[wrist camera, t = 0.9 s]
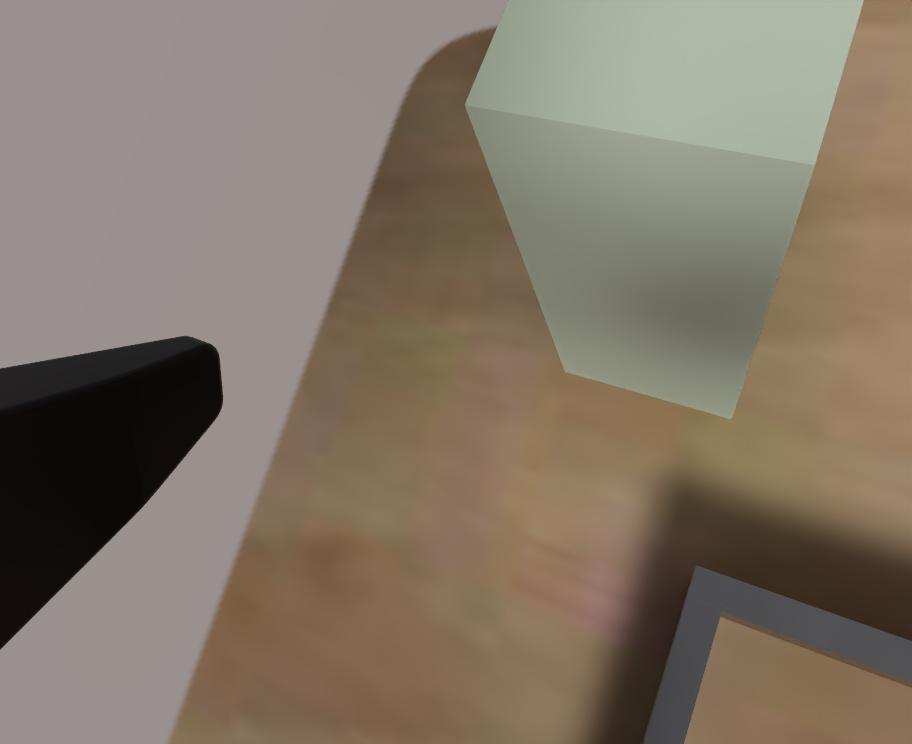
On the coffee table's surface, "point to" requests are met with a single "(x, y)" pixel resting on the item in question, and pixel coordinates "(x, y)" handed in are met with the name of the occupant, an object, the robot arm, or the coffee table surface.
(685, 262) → the sage block
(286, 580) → the coffee table surface
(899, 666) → the square socket
